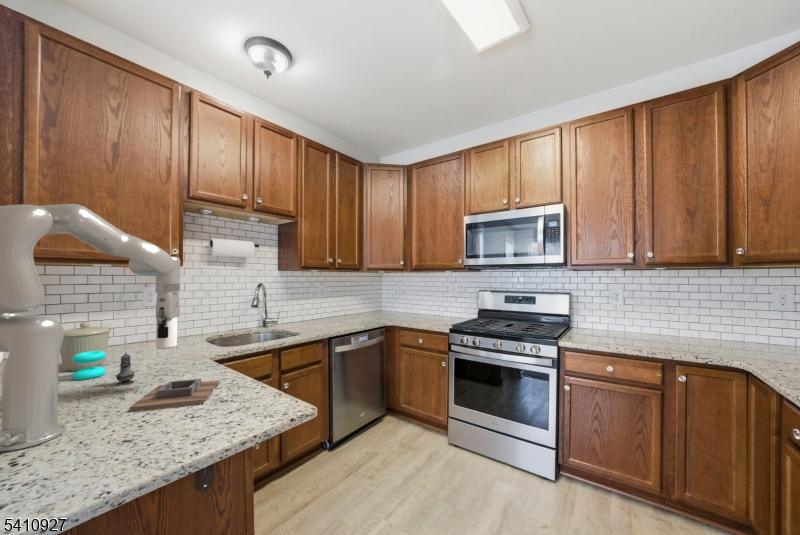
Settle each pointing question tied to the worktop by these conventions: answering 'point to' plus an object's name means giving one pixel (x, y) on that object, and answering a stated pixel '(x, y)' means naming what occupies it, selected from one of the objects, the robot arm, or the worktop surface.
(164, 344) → the can
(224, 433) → the worktop surface
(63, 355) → the canister
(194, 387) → the socket board
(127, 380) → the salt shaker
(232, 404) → the worktop surface
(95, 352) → the donuts
